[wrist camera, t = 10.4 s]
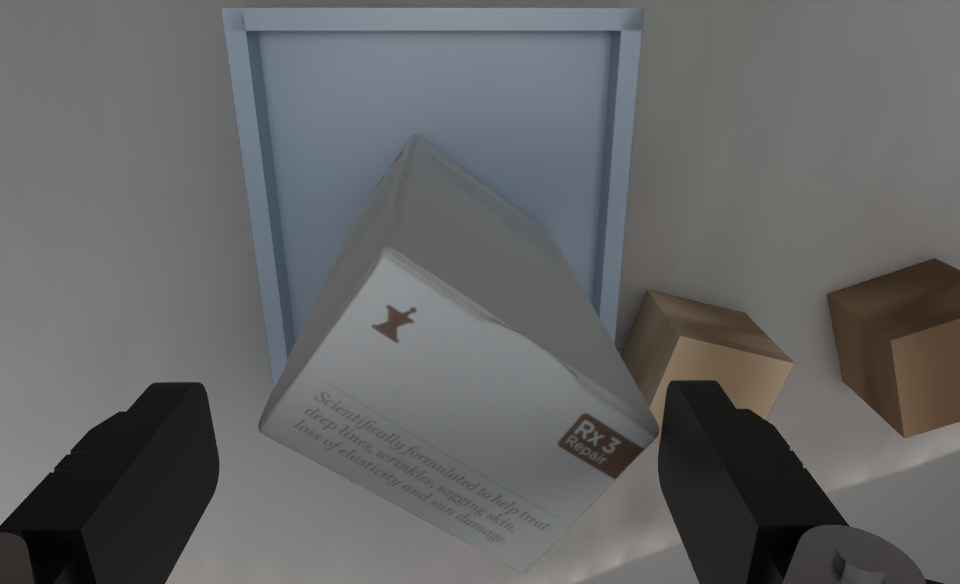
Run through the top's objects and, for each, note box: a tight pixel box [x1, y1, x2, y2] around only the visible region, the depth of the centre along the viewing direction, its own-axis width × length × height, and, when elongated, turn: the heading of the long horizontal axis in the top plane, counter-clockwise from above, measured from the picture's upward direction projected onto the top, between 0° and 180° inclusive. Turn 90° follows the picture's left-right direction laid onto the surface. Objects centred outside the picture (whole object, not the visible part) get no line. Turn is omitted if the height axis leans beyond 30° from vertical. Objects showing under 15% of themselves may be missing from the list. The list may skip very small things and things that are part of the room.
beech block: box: [621, 289, 795, 444], centre depth 23 cm, size 4×4×4 cm
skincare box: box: [259, 135, 660, 573], centre depth 17 cm, size 6×4×12 cm
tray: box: [221, 8, 644, 387], centre depth 22 cm, size 12×14×2 cm
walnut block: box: [827, 258, 960, 438], centre depth 23 cm, size 4×4×4 cm
